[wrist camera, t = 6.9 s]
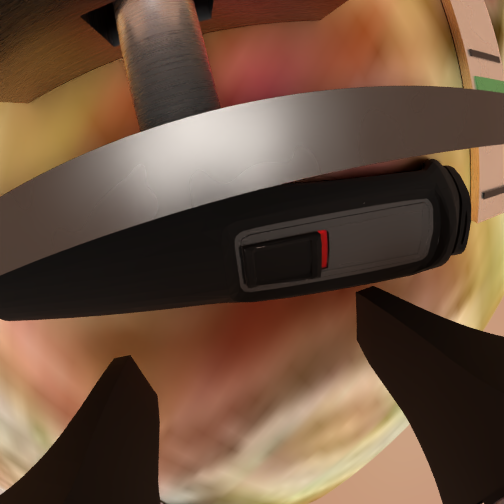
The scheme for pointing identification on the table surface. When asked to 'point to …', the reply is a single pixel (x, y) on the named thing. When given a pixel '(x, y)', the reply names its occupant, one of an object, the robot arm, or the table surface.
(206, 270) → the electric trimmer
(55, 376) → the table surface
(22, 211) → the gauge plunger
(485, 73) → the gauge frame
